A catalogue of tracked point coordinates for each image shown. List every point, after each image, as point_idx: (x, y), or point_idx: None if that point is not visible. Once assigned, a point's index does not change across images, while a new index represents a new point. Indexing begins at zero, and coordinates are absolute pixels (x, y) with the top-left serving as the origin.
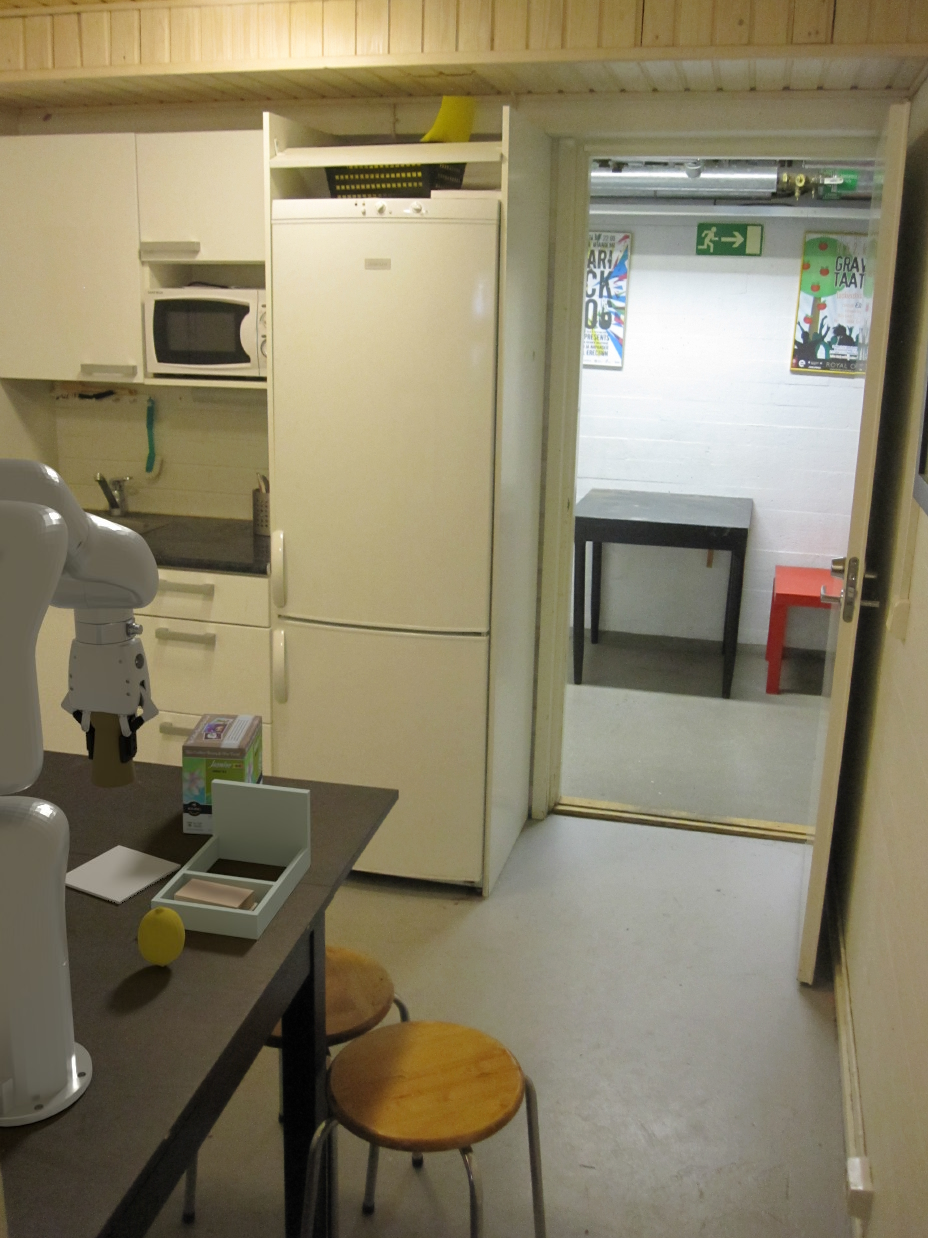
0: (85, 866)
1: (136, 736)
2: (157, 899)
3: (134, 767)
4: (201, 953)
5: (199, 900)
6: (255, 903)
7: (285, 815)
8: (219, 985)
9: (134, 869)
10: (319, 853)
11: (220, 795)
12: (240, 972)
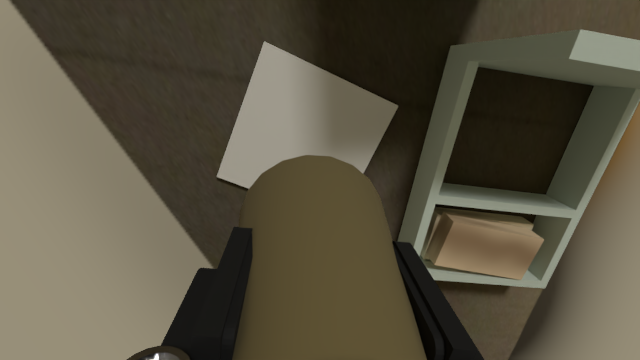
0: (242, 130)
1: (477, 351)
2: None
3: (385, 216)
4: (460, 295)
5: (470, 270)
6: (530, 226)
7: None
8: (483, 335)
9: (326, 130)
10: (631, 19)
11: (561, 63)
12: (502, 316)
